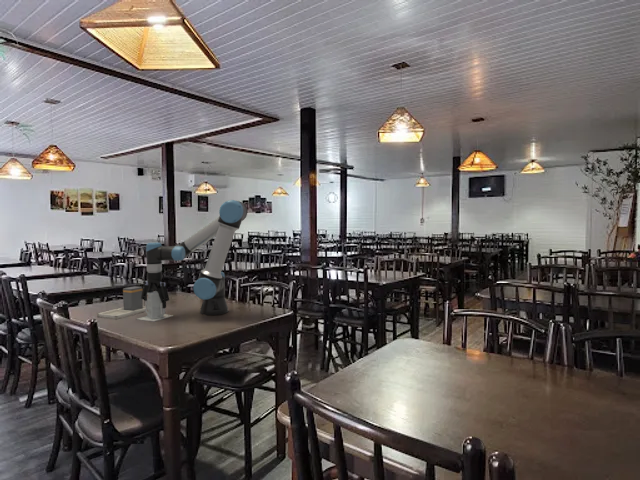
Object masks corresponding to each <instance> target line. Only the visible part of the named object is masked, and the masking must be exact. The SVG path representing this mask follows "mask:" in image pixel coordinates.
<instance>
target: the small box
mask: <svg viewBox="0 0 640 480" xmlns="http://www.w3.org/2000/svg"><path fill="white" fill-rule="evenodd" d="M160 302H161V299H160V297H159V293H158V292H157V291H156V290H155V291H152V292H149V293H147V313H146V316H148V317H150V318H152V319H155V318H161V317H164V314H163V315H161V308H160Z"/></svg>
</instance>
